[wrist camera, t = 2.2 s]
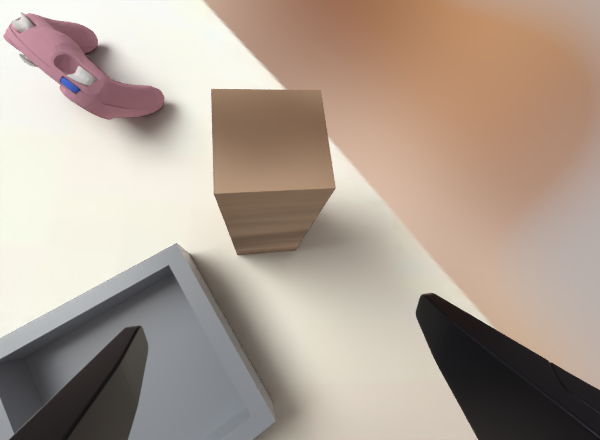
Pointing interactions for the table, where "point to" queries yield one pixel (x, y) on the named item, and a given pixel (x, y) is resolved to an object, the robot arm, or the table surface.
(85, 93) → the video game controller
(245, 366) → the tray
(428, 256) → the table surface
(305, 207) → the walnut handle block
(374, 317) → the table surface
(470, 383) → the robot arm
